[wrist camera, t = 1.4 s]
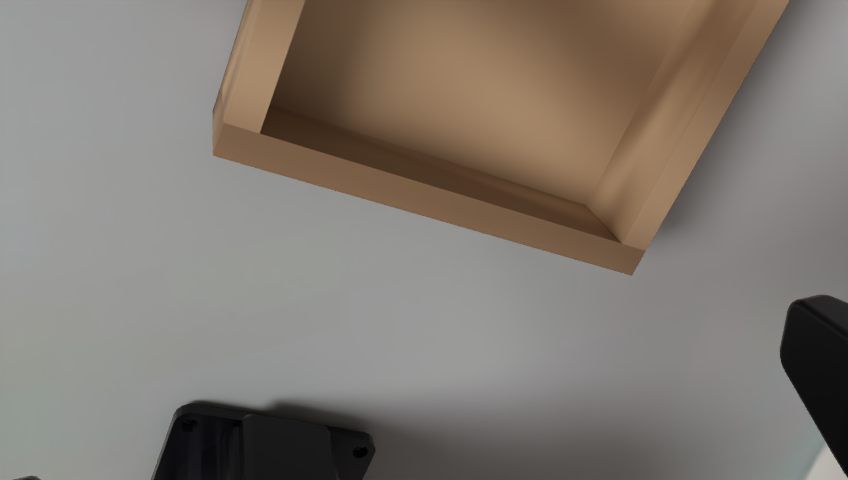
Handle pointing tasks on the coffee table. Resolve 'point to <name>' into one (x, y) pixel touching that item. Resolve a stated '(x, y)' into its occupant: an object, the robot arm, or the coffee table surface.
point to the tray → (493, 108)
